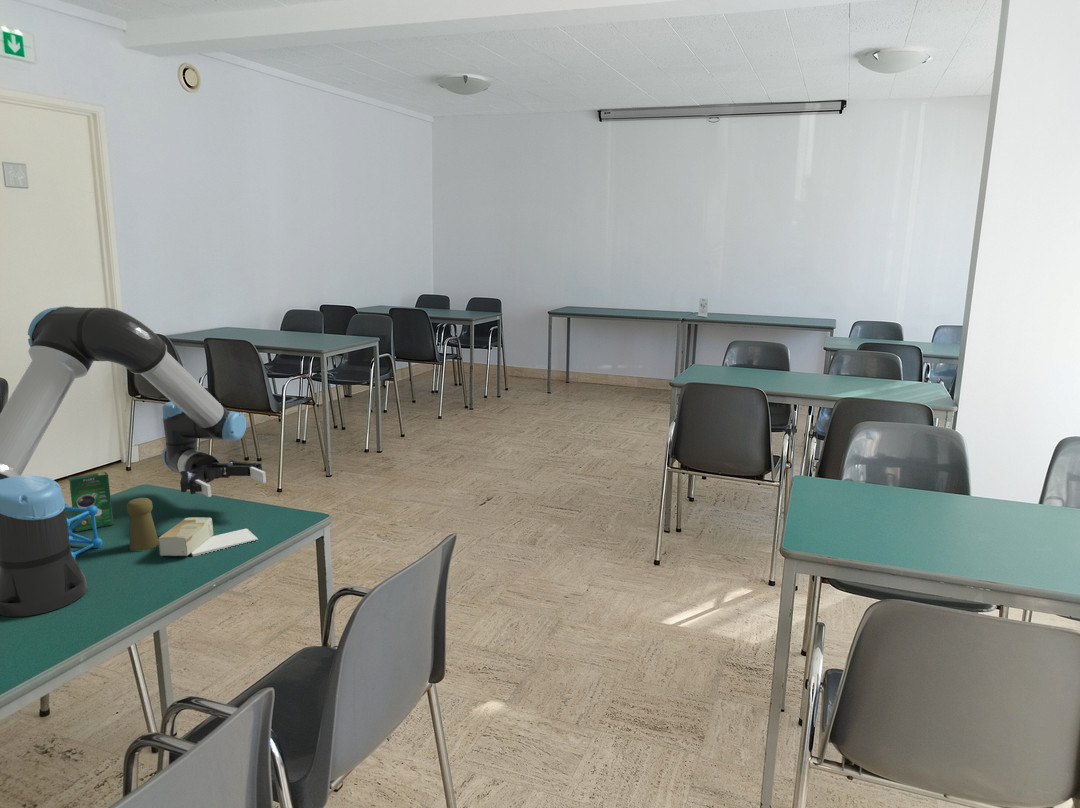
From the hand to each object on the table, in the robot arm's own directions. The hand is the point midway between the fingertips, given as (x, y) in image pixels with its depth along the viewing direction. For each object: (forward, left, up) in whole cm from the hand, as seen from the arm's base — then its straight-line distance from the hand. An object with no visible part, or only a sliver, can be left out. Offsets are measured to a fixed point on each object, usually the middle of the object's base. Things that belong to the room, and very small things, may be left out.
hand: (237, 484), depth 181 cm
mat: (-7, -9, -10) cm, 15 cm away
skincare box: (-10, -2, -8) cm, 12 cm away
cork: (-21, +1, -10) cm, 24 cm away
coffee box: (-28, +21, -10) cm, 37 cm away
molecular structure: (-35, +7, -11) cm, 37 cm away
